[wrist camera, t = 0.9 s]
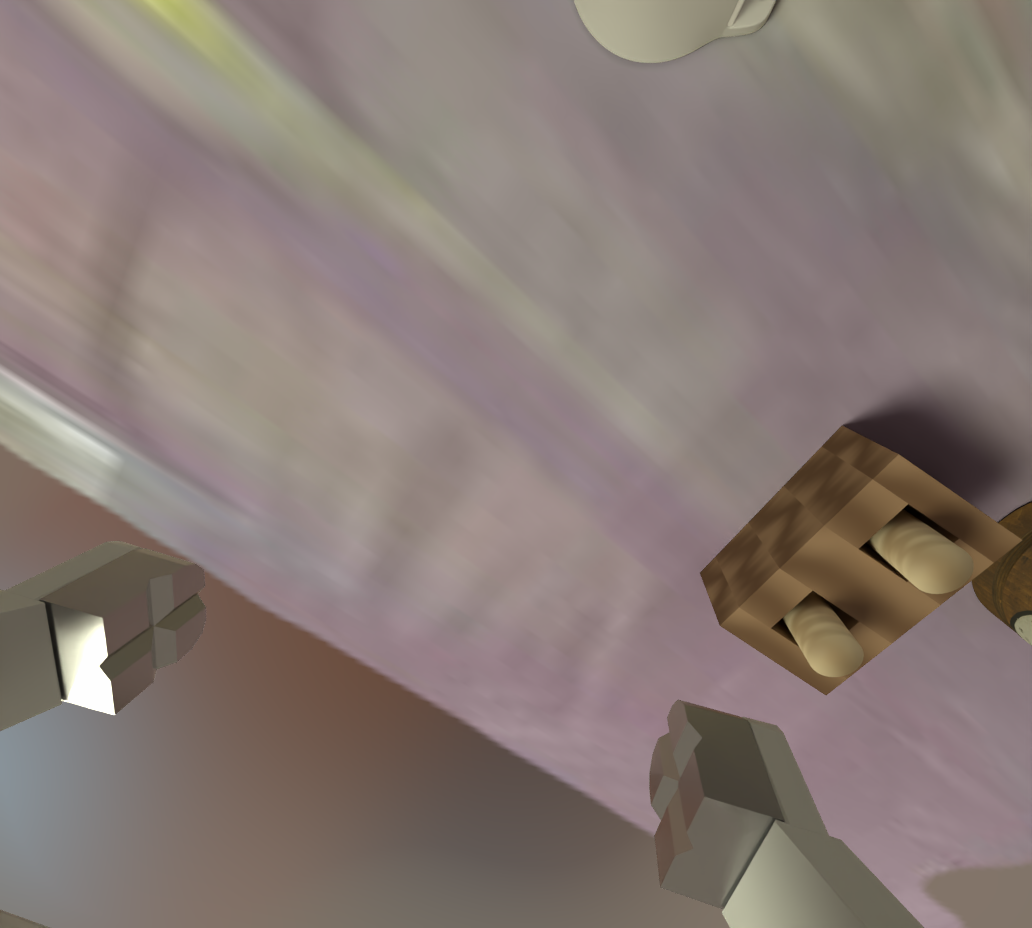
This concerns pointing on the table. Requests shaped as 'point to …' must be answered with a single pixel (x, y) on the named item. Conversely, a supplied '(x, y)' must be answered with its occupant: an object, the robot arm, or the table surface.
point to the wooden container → (1011, 578)
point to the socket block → (840, 552)
